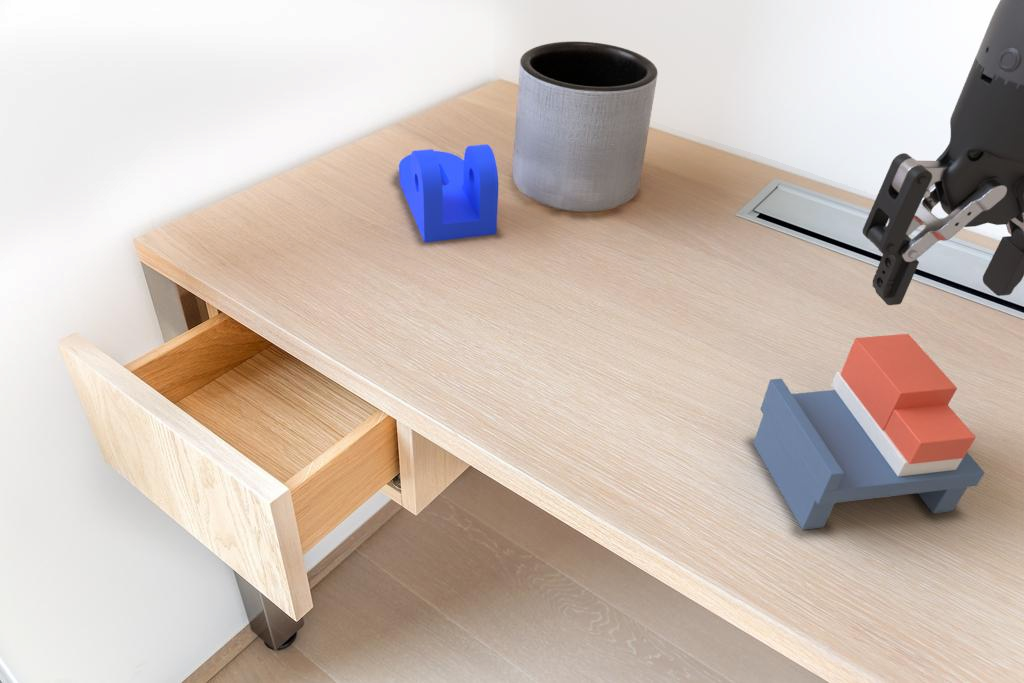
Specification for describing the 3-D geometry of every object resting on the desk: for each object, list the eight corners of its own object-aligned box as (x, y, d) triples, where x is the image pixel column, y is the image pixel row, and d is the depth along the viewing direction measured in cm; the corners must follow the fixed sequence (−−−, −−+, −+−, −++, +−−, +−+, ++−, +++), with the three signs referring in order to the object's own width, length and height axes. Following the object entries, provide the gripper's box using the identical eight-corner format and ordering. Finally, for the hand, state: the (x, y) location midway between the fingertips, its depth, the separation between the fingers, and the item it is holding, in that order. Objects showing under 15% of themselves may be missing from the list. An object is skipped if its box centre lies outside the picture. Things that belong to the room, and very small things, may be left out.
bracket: (496, 234, 90) (499, 161, 85) (424, 242, 88) (423, 168, 83) (457, 163, 104) (457, 96, 98) (393, 169, 101) (390, 100, 96)
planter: (504, 157, 106) (510, 38, 96) (622, 157, 108) (640, 40, 98) (520, 219, 93) (528, 89, 83) (652, 217, 95) (676, 90, 85)
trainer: (830, 385, 65) (851, 334, 62) (883, 380, 66) (906, 330, 63) (899, 479, 57) (927, 427, 54) (957, 472, 58) (988, 420, 55)
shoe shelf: (888, 425, 69) (917, 366, 65) (958, 516, 62) (996, 456, 57) (749, 439, 67) (769, 379, 63) (803, 535, 59) (831, 474, 55)
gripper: (1106, 39, 50) (995, 258, 60) (900, 44, 47) (822, 271, 57) (1207, 85, 44) (1066, 318, 54) (980, 93, 42) (877, 335, 52)
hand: (940, 293), depth 56 cm, fingers open, 8 cm apart
